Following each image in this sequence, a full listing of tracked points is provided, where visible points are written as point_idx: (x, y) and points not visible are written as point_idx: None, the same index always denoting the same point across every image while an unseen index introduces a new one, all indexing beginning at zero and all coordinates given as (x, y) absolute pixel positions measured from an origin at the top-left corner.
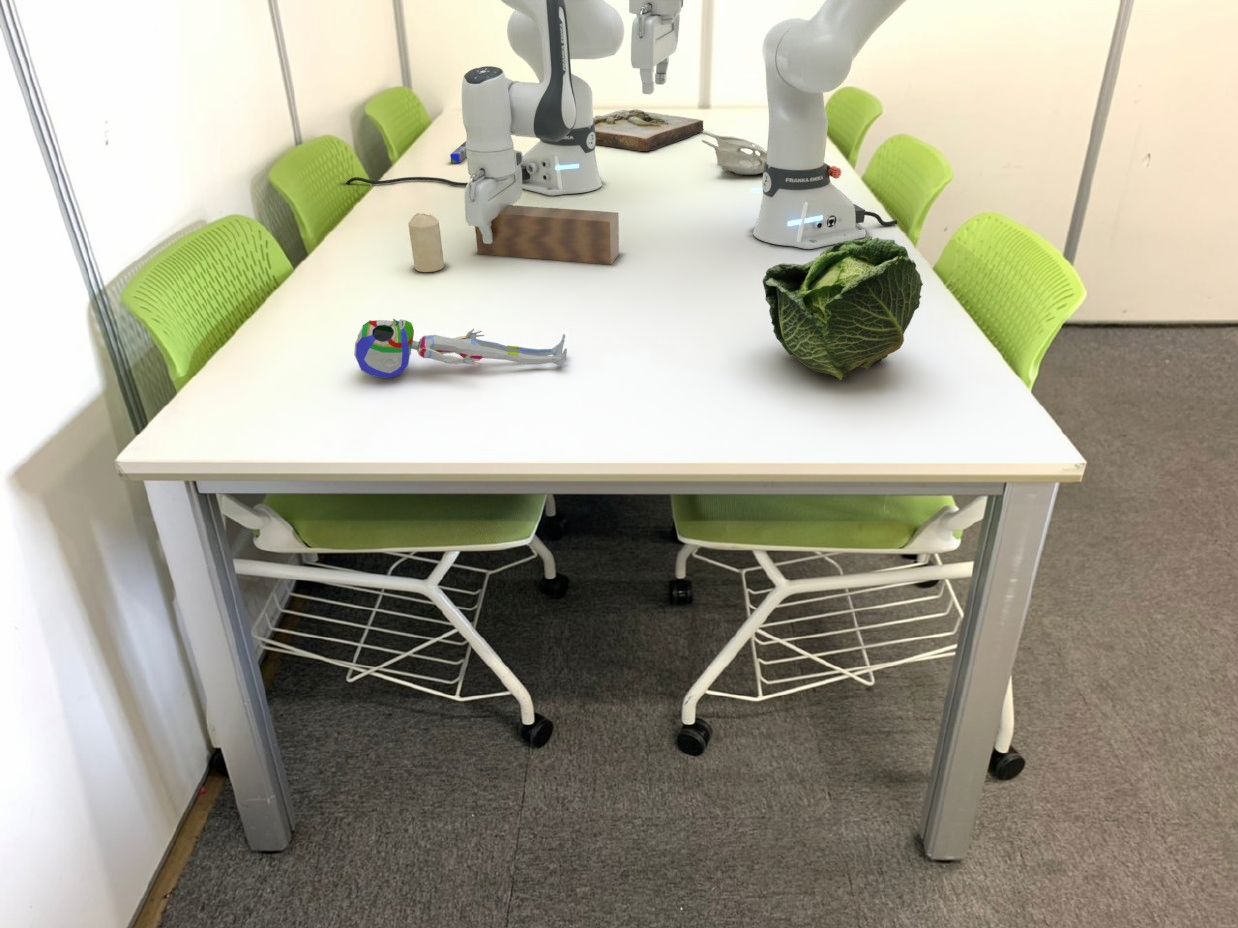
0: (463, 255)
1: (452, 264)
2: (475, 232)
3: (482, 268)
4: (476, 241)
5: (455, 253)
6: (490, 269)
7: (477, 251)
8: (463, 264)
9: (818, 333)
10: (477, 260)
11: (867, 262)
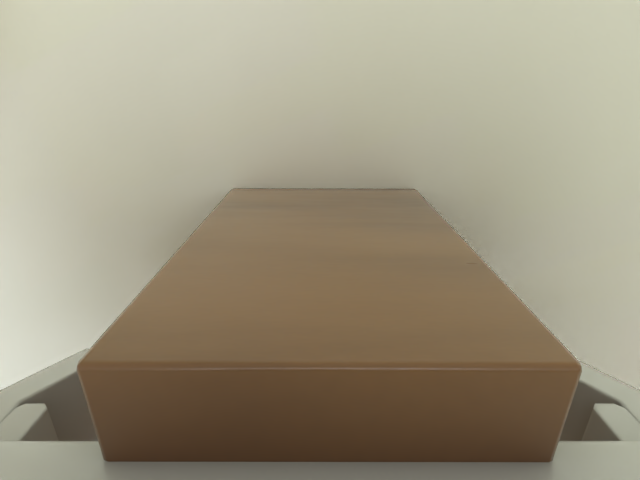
0: (182, 107)
1: (7, 108)
2: (189, 238)
3: (42, 297)
4: (210, 214)
5: (198, 29)
6: (51, 336)
7: (229, 193)
8: (42, 176)
9: None
10: (137, 228)
11: None
